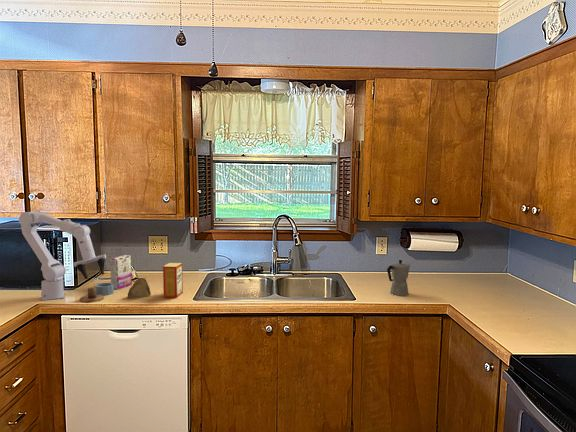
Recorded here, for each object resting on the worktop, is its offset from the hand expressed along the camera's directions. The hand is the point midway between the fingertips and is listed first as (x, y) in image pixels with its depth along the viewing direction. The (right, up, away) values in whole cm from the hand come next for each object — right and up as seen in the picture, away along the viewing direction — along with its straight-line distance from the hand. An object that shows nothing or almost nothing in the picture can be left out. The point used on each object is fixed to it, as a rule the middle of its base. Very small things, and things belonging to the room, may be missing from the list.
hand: (94, 276), depth 203 cm
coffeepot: (+152, -11, +14) cm, 153 cm away
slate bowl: (0, -10, +10) cm, 14 cm away
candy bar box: (+4, -9, +23) cm, 25 cm away
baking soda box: (+36, -11, +8) cm, 39 cm away
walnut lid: (-1, -11, -1) cm, 11 cm away
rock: (+20, -11, +5) cm, 23 cm away
